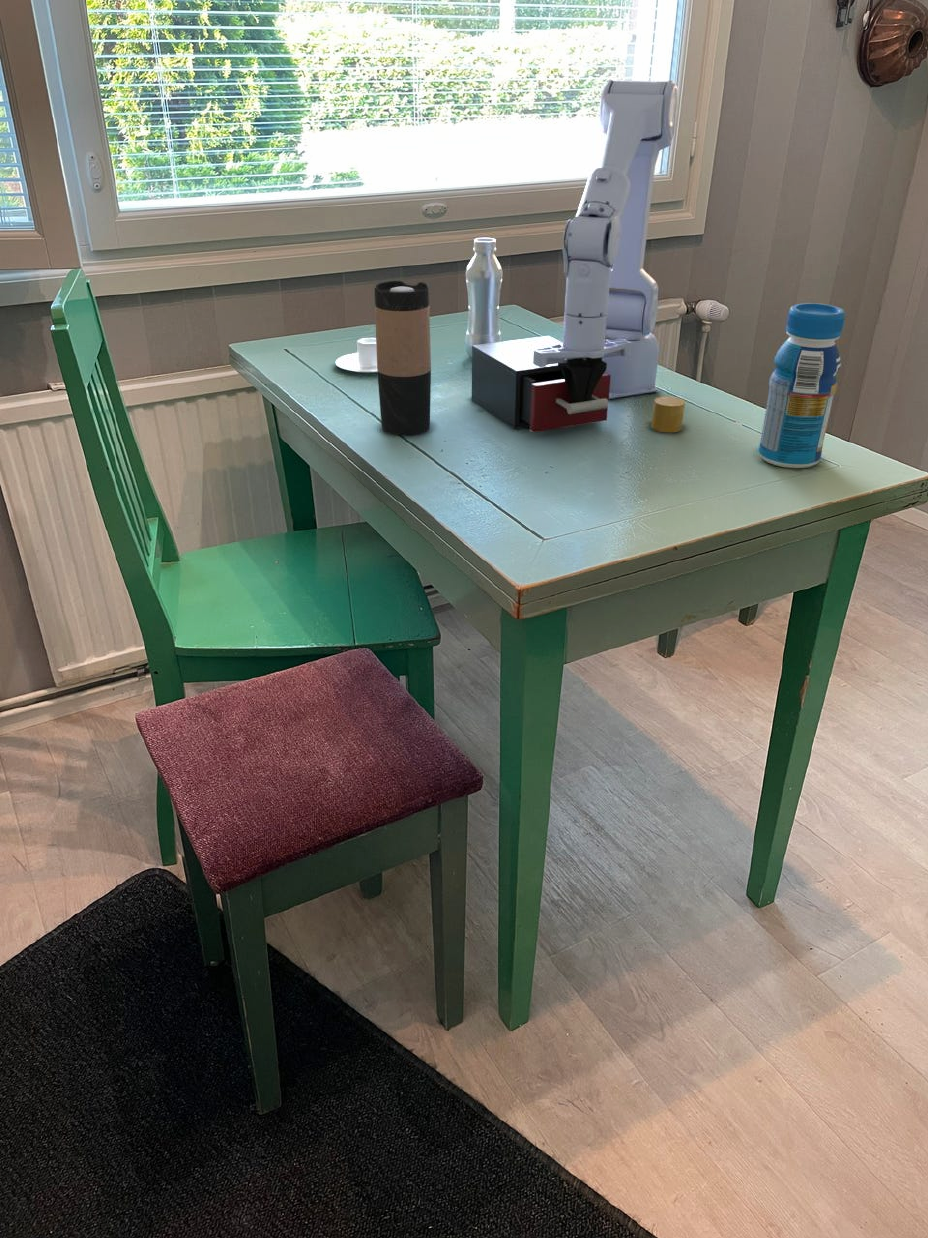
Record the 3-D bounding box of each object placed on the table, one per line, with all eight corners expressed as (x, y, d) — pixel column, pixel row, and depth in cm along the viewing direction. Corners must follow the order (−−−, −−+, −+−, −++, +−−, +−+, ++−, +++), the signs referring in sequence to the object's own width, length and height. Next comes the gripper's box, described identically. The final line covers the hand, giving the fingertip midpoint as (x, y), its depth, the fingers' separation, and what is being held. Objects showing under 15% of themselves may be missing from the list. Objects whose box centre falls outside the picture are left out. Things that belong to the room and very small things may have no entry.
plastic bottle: (507, 356, 169) (511, 238, 159) (488, 365, 164) (491, 244, 154) (477, 350, 172) (479, 234, 161) (457, 359, 167) (458, 240, 157)
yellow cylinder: (669, 420, 141) (673, 394, 139) (687, 430, 137) (691, 403, 135) (645, 424, 139) (648, 398, 137) (662, 434, 136) (666, 407, 134)
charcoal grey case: (593, 415, 142) (598, 359, 138) (514, 429, 137) (516, 370, 133) (545, 388, 154) (548, 335, 149) (471, 399, 149) (471, 345, 144)
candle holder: (401, 376, 159) (401, 350, 156) (331, 375, 159) (329, 350, 157) (407, 356, 169) (406, 332, 167) (340, 355, 169) (339, 331, 167)
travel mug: (392, 439, 133) (387, 294, 123) (371, 423, 139) (364, 283, 129) (440, 431, 136) (439, 288, 126) (418, 415, 142) (415, 277, 132)
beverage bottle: (743, 455, 129) (768, 306, 118) (782, 442, 133) (810, 297, 123) (794, 475, 123) (826, 320, 113) (833, 461, 127) (867, 310, 117)
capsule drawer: (624, 430, 135) (629, 384, 131) (549, 443, 130) (552, 395, 126) (560, 393, 149) (563, 350, 145) (490, 404, 144) (491, 360, 140)
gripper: (553, 324, 120) (547, 426, 127) (647, 314, 125) (637, 412, 132) (527, 312, 125) (523, 411, 132) (618, 303, 131) (609, 398, 138)
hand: (578, 411), depth 133 cm, fingers closed, pressing on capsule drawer
